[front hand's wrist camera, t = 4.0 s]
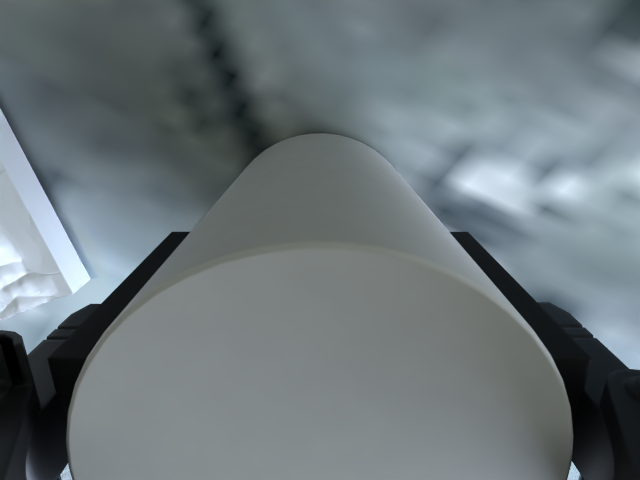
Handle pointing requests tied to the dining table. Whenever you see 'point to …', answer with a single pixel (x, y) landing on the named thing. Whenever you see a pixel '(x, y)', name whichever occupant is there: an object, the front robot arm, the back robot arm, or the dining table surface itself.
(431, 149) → the dining table surface
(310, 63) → the dining table surface
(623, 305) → the dining table surface
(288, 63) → the dining table surface
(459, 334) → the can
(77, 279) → the relief map
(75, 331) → the front robot arm
